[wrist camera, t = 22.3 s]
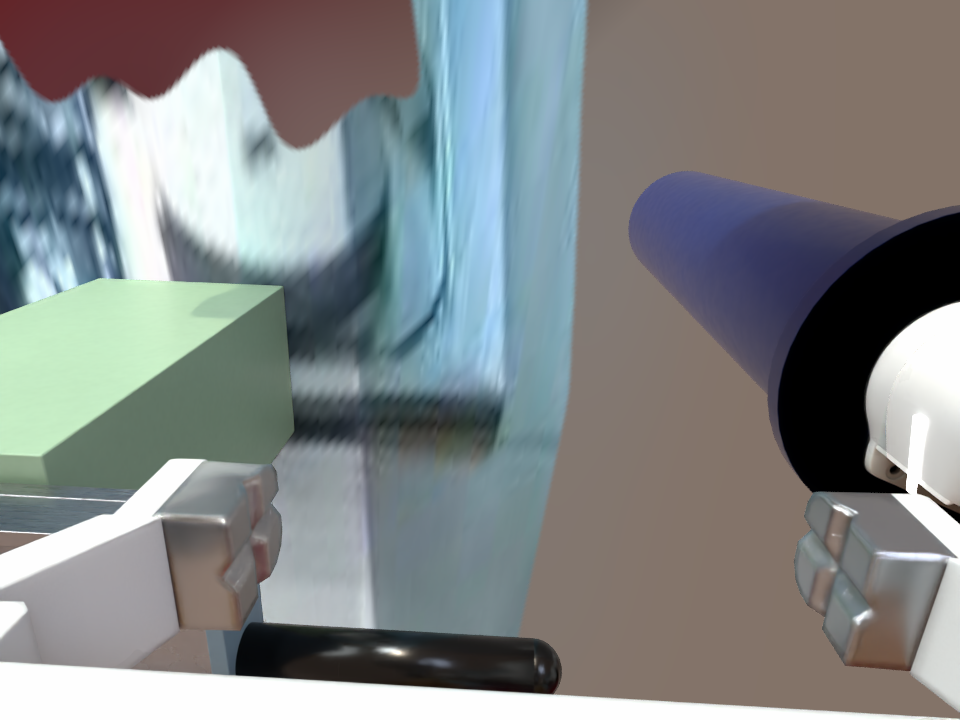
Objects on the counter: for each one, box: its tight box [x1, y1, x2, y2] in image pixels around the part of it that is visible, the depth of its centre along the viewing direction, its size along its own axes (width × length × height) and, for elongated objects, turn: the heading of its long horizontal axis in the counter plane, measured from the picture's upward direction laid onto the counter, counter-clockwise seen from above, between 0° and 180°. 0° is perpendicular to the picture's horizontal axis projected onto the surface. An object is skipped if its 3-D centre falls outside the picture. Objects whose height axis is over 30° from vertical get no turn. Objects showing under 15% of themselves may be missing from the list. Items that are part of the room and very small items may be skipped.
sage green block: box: [0, 278, 295, 490], centre depth 37 cm, size 14×12×26 cm
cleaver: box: [0, 483, 562, 695], centre depth 23 cm, size 23×10×4 cm, turn 88°
